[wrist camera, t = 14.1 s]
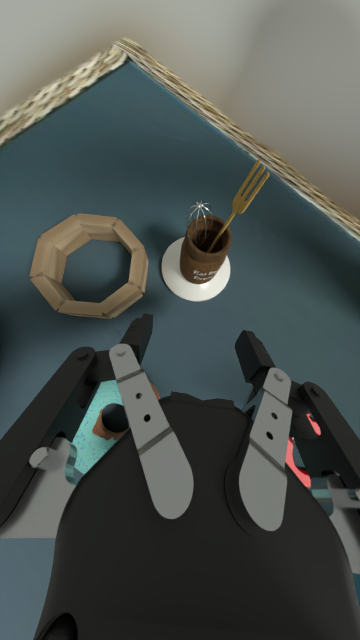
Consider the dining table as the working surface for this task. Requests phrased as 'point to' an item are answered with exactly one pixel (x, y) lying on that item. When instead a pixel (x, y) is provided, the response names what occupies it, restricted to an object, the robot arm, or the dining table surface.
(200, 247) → the utensil holder
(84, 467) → the donut
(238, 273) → the dining table surface
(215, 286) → the coaster
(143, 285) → the oak ring
